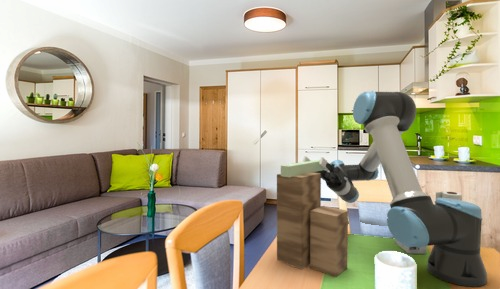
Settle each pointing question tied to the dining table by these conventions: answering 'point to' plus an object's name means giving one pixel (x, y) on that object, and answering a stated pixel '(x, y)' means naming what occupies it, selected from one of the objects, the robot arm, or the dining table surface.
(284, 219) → the walnut stand
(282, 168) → the sage bar
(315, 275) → the dining table surface
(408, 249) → the light bulb box
